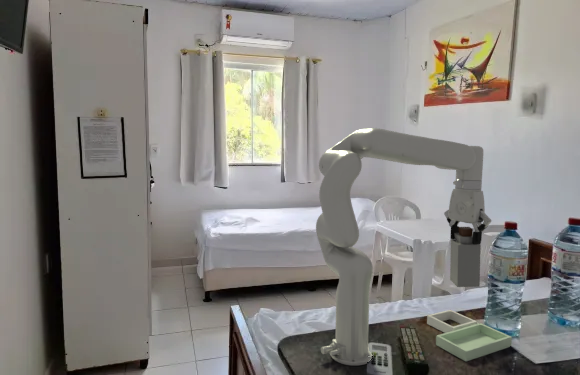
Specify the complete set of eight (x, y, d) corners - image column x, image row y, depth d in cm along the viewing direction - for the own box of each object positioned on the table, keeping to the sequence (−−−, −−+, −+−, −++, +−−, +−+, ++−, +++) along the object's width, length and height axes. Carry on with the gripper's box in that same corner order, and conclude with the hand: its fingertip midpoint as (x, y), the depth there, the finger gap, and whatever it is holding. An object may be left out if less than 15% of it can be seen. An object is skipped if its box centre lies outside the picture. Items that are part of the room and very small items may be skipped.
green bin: (465, 361, 117) (466, 351, 116) (435, 344, 127) (436, 335, 126) (511, 346, 126) (511, 336, 125) (480, 331, 136) (480, 323, 135)
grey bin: (452, 336, 132) (453, 328, 132) (427, 323, 142) (427, 315, 141) (476, 330, 137) (476, 321, 137) (449, 317, 147) (450, 309, 146)
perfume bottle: (471, 279, 134) (472, 225, 132) (479, 286, 127) (481, 230, 125) (450, 279, 134) (451, 225, 132) (457, 287, 128) (458, 230, 125)
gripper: (437, 183, 133) (435, 237, 135) (485, 188, 118) (482, 248, 120) (453, 183, 137) (450, 235, 138) (501, 187, 122) (498, 246, 123)
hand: (465, 241), depth 129 cm, fingers closed on perfume bottle, 7 cm apart
